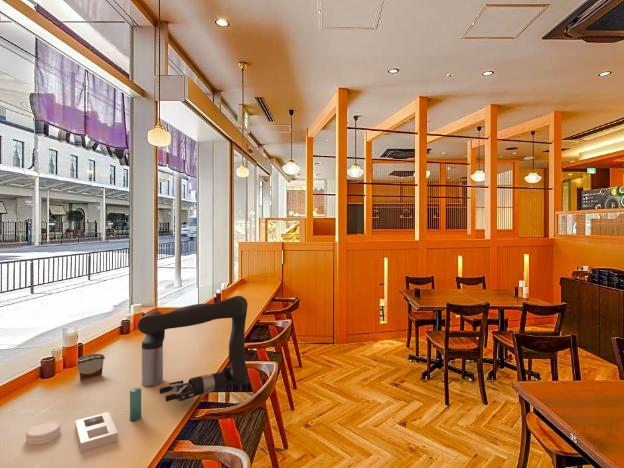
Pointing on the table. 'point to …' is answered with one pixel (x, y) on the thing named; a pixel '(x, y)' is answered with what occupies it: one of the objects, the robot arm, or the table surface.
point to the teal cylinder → (135, 404)
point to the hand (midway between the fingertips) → (162, 394)
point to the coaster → (43, 433)
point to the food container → (90, 366)
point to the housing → (95, 431)
